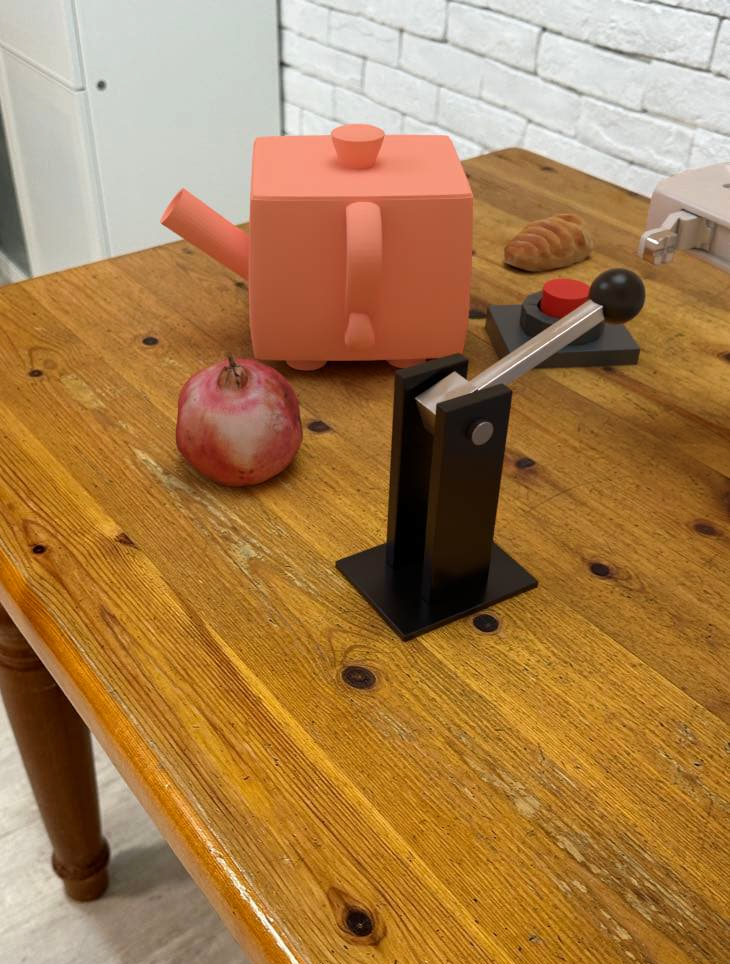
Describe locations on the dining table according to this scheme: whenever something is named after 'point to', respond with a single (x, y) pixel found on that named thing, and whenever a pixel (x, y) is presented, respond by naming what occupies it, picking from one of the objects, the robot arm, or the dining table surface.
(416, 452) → the bracket
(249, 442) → the fruit
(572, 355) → the button box
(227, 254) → the teapot
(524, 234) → the pastry
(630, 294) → the tap lever
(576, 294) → the red push button
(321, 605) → the dining table surface
